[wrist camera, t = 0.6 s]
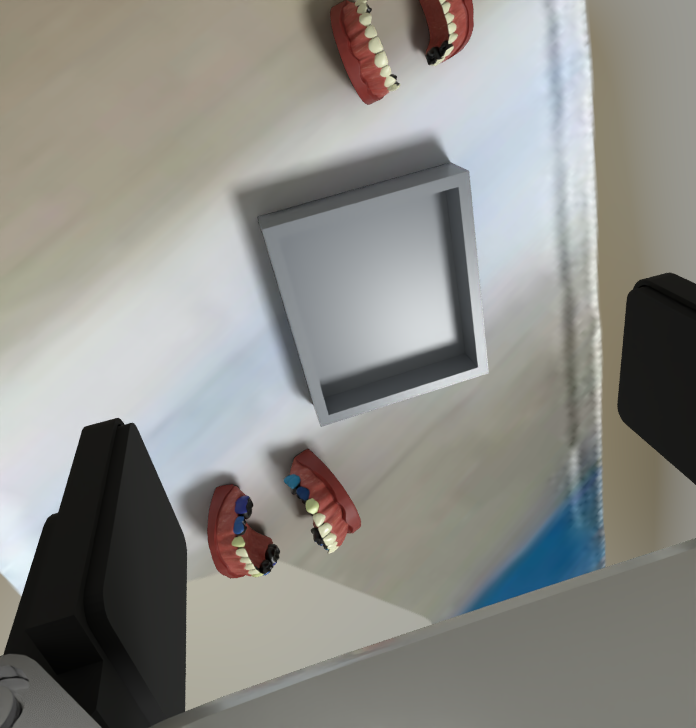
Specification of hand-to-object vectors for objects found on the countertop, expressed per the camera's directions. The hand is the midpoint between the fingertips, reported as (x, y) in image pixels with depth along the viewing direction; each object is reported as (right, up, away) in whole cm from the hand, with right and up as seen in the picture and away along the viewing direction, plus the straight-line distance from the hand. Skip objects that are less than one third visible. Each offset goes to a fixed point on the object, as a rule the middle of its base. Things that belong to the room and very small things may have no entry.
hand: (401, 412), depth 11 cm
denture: (+2, +21, +24) cm, 32 cm away
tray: (+1, +6, +32) cm, 33 cm away
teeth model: (-7, -11, +40) cm, 42 cm away
